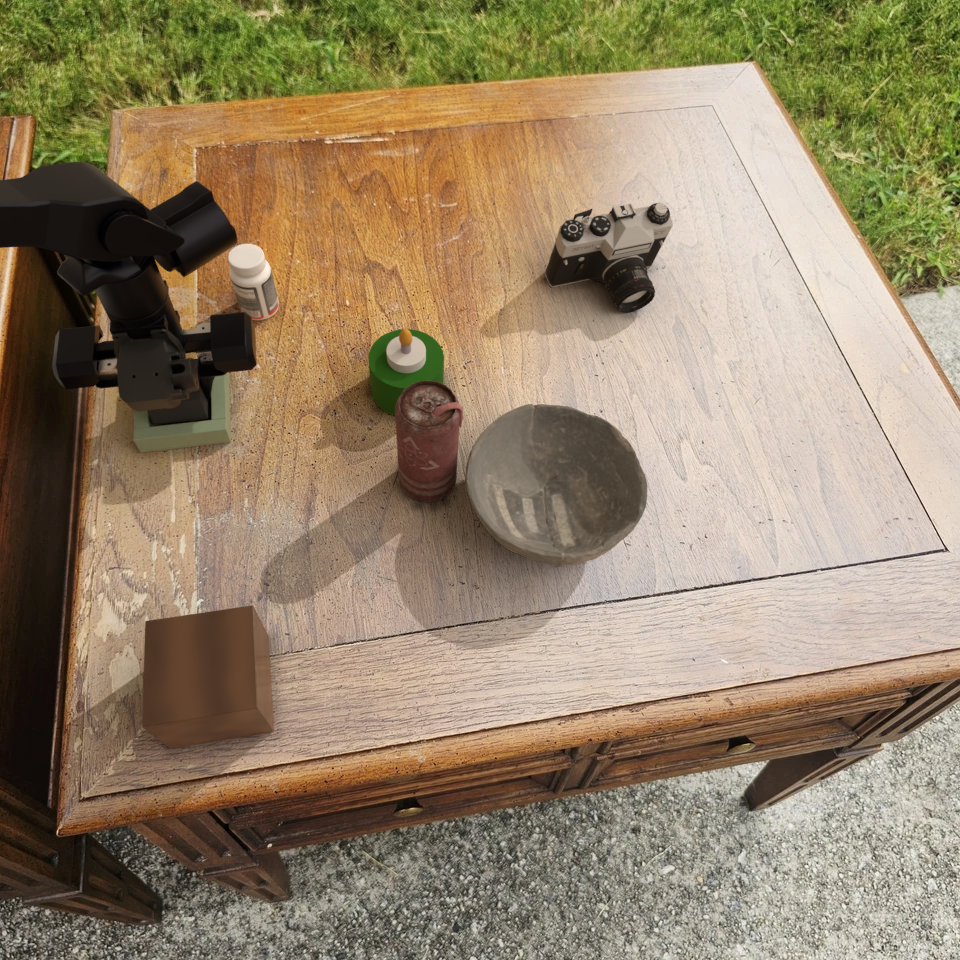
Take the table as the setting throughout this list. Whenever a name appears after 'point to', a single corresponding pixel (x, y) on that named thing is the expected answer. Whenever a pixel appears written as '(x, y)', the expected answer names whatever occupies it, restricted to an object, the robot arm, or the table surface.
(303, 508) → the table surface
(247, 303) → the pill bottle
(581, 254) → the camera
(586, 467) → the bowl
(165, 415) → the black block
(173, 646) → the block
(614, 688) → the table surface
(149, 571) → the table surface
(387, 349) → the candle
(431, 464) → the can
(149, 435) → the green square frame
